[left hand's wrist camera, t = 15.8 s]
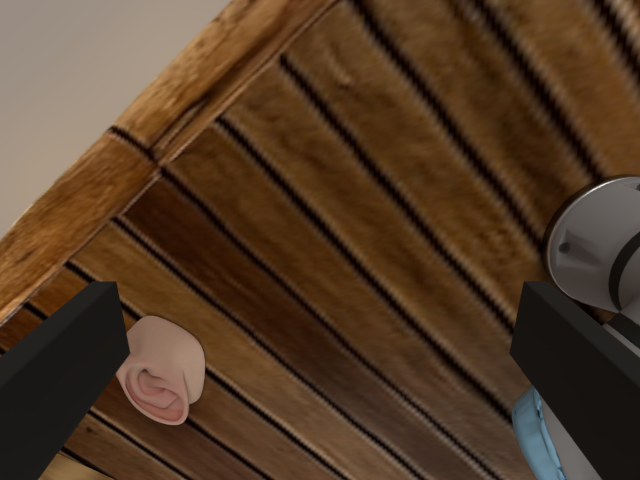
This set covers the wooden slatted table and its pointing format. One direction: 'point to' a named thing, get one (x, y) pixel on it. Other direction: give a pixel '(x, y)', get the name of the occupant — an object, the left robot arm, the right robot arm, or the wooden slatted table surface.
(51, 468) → the bar
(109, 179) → the wooden slatted table surface
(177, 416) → the anatomical model
